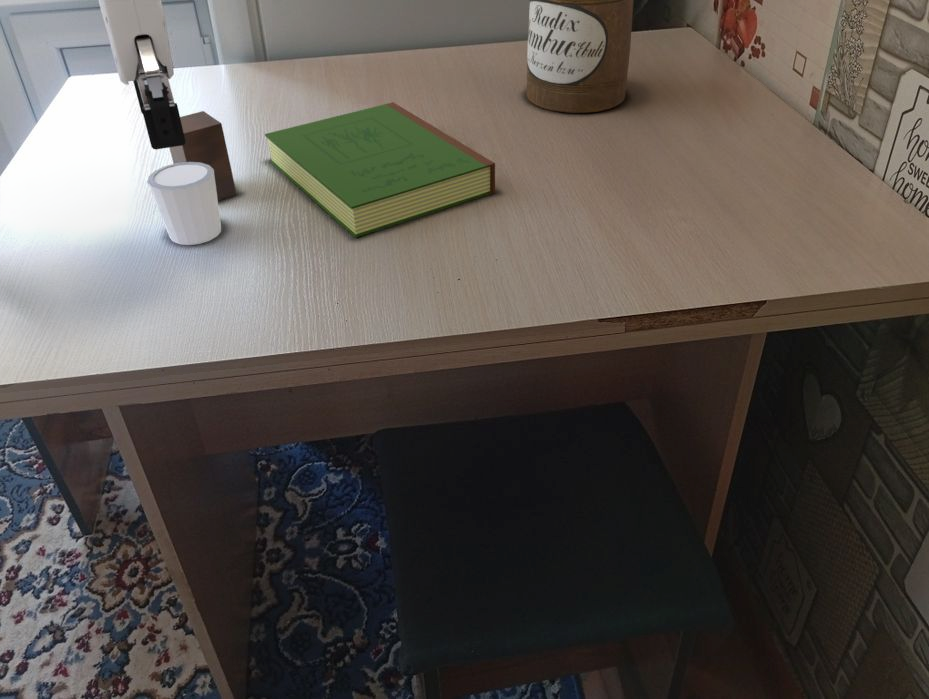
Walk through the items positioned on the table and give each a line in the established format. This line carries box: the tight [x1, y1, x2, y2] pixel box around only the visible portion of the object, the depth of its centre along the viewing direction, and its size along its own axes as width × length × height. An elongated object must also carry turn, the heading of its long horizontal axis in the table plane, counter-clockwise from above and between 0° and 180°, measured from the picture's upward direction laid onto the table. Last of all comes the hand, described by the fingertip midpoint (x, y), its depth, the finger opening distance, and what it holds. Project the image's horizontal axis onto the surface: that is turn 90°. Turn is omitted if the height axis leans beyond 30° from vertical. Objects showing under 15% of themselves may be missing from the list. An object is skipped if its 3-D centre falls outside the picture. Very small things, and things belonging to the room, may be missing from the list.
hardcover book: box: [264, 101, 496, 239], centre depth 97 cm, size 25×19×4 cm
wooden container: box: [526, 0, 634, 114], centre depth 112 cm, size 15×15×22 cm
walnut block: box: [169, 110, 238, 202], centre depth 92 cm, size 5×5×9 cm
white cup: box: [147, 162, 222, 246], centre depth 86 cm, size 7×7×7 cm
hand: (163, 128), depth 80 cm, fingers open, 9 cm apart
